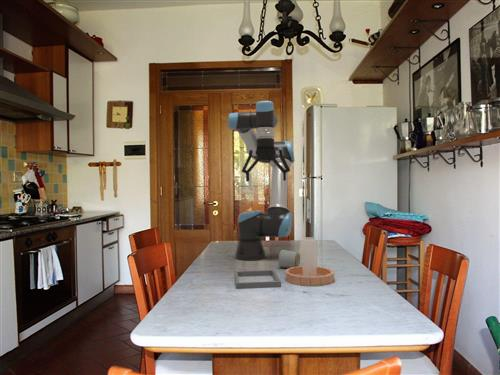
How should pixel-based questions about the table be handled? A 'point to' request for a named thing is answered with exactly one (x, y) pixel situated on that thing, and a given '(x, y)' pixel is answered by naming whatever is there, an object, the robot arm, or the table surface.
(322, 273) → the bowl
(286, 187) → the robot arm
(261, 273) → the tray
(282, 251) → the ceramic mug
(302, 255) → the drinking glass
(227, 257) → the table surface
